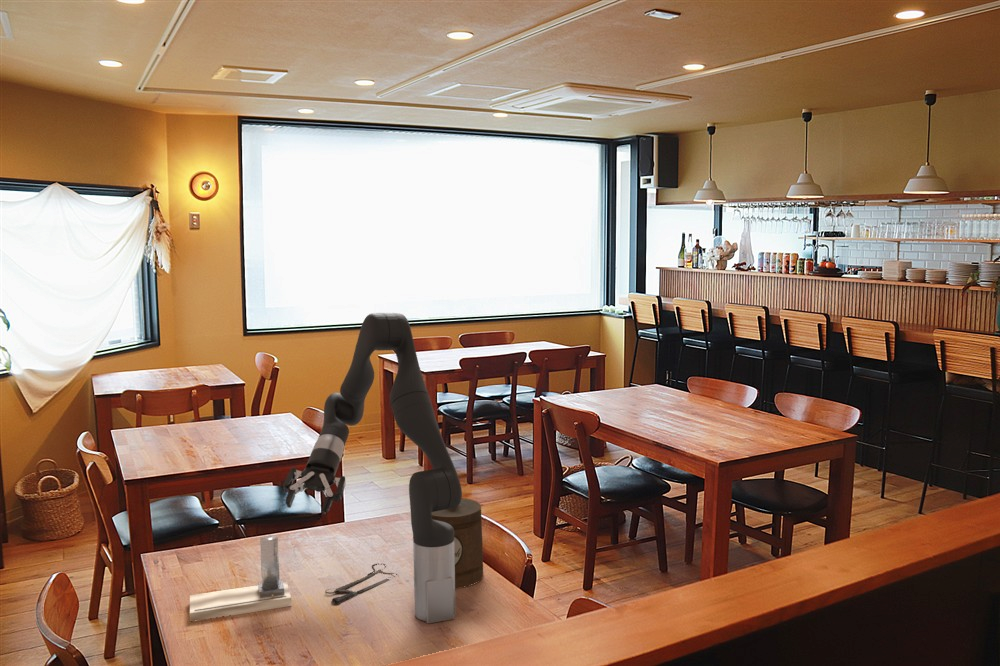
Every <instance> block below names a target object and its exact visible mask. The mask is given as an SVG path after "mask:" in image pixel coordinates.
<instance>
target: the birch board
mask: <svg viewBox="0 0 1000 666" xmlns="http://www.w3.org/2000/svg"><path fill="white" fill-rule="evenodd" d="M282 582H283V585H284V593H285V595H278V596H274V597H265V598H260V595H259V590H258V584H257V585H250V586H244V587H237V588H231V589H230V588H229V589H222V590H217V591H211V592H204V593H196V594H190V595H189V619H190V621H193V622H196V621H195V620H199V621H204V620H203V619H206V620H210V619H209V618H212V619H217V618H216V617H218V618H222V616H224V617H229V615H231V616H236V615H241V614H248V613H255V612H256V613H257V612H261V611H262V612H263V611H268V610H273V609H274V610H275V609H280V608H286V607H292V596H291V592H290V588H289V585H288V582H287V580H284V581H283V580H282ZM190 621H189V622H190Z"/></svg>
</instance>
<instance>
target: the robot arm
mask: <svg viewBox="0 0 1000 666" xmlns="http://www.w3.org/2000/svg"><path fill="white" fill-rule="evenodd" d="M374 351H394V353H395V355H396V360H397V366H398V368H397V371H396V372H397V373H396V376H395V378H394V380H393V383H392V386H391V389H390V394H389V404H390V407H391V410H392V414H393V418H394V420H395V423H396V425H397V427H398V428H399V430H400V431H401V432H402V433H403V434H404V435H405V436H406V437H407V438H408V439H409V440H410V441H411V442H413V444H415V445H416V446H417V447H418V448H419V449H420V450H421V451H422V452H423V453H424V455H425V456H426V457H427V459H428V461H429V463H430V465H431V467H432V468H431V469H426V470H419V471H416V472H414V473H412V475H411V476H410V478H409V485H408V493H409V494H408V495H409V507H410V523H411V530H412V541H413V542H412V543H413V544H412V547H413V548H412V549H413V550H412V551H413V553H412V554H413V556H412V557H413V587H414V588H413V593H414V598H413V599H414V615H415V617H416V618H417V619H418V620H420V621H424V622H426V624H433V623H438V622H445V621H450V620H454V619H455V615H456V613H457V612H456V588H455V555H454V528H453V527H452V526H451V525H450V524H448V523H446V522H442V521H437V520H433V519H432V512H435V511H440V510H445V509H449V508H454V507H457V506H458V505H459V504H460V502H461V499H462V498H463V497H462V496H463V492H462V483H461V481H460V478H459V474H458V472H457V470H456V468H455V465H454V463H453V460H452V458H451V456H450V453H449V450H448V448H447V446H446V443H445V442H444V439H443V435H442V433H441V430H440V426H439V423H438V421H437V417H436V414H435V410H434V407H433V404H432V401H431V396H430V393H429V392H428V389H427V386H426V384H425V383H426V382H425V381H424V378H423V373H422V369H421V368H420V364H419V359H418V355H417V352H416V346H415V342H414V337H413V333H412V329H411V326H410V323H409V320H408V318H407V317H406V316H405V315H404V314H402V313H398V312H373V313H369V314H367V316H366V317H365V318H364V320H363V322H362V324H361V327H360V329H359V334H358V337H357V341H356V345H355V348H354V352H353V355H352V356H353V357H352V361H351V363H350V367H349V369H348V371H347V373H346V375H345V377H344V379H343V381H342V383H341V385H340V388H339V392H332V393H330V394H329V395H328V396H327V398H326V400H325V401H324V406H323V424H322V428H321V430H320V433H319V434H318V435H319V436H318V438H317V440H316V442H315V443H314V446H313V448H312V451H311V453H310V455H309V458H308V460H307V462H306V465H305V467H304V469H303V470H302V471H301V470H298V469H297V468H296V467H294V466H293V467H291V468H290V470H289V472H288V474H287V476H286V477H285V480H284V482H283V490H284V492H285V493H287V495H286V497H285V504H286V507H287V508H288V509H290V508H292V505H293V503H294V500H295V498H296V495H297V494H298V493H302V492H304V491H305V490H308V491H315V492H318V493H321V492H323V494H324V495H325V499H324V502H323V504H322V508H321V515H326V513H328V512H330V509H331V506H332V504H333V502H341V501H342V498H343V496H344V495H343V494H344V490H345V487H346V477H345V476H343V475H342V476H340V477H336V473H337V472H338V471H337V470H338V468H339V465H340V463H341V461H342V458H343V454H344V450H345V446H346V443H347V440H348V437H349V434H350V428H349V427H348V426H356V425H357V424H358V425H359V423H360V422H361V420H362V419H363V417H364V411H365V401H366V397H367V396H368V393H369V391H370V389H371V388H372V385H373V384H374V380H375V370H374V366H373V364H372V361H371V358H370V357H371V356H372V354H373V353H374ZM299 477H301V478H299ZM298 478H299V479H298ZM297 479H298V480H297ZM295 480H297V481H296V482H295V483H294V481H295ZM334 484H335V485H336V487H337V488H336V492H335V493H334V492H333V491H332V488H331V486H332V485H334Z"/></svg>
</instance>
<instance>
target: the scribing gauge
mask: <svg viewBox="0 0 1000 666" xmlns="http://www.w3.org/2000/svg"><path fill="white" fill-rule="evenodd" d="M259 543H260V544H259V545H260V546H259V547H260V548H259V549H260V562H261V563H260V565H261V568H260V570H261V582H257V585H258V590H259V595H260V598H265V597H274V596H278V595H285V593H284V585H283V582H282V581H283V579H281V578H280V561H279V559H280V557H279V537H278V536H276V535H273V534H272V535H265V536H262V537H261V538H259Z"/></svg>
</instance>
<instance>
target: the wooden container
mask: <svg viewBox="0 0 1000 666" xmlns="http://www.w3.org/2000/svg"><path fill="white" fill-rule="evenodd" d="M481 506H482V505H481V504H480V503H479V502H478V501H476V500H474V499H471V498H466V497H465V498H464V497H462V499H461V502H460V504H459V505H458V506H457V507H454V508H449V509H445V510H440V511H435V512H432V519H433V520H437V521H442V522H446V523H448V524H450V525H451V526H452V527H453V528H454V555H455V589H459V587H462V588H465V587H464V586H467V587H470V586H472V585H471V584H473V585H475V584H477V583H479V582H481V580H482V579H483V578H482V577H483V576H484V547H483V546H484V545H483V544H484V543H483V527H482V526H483V525H482V524H483V523H482V507H481ZM478 581H479V582H478ZM476 582H477V583H476ZM474 583H475V584H474ZM469 585H470V586H469Z"/></svg>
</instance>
